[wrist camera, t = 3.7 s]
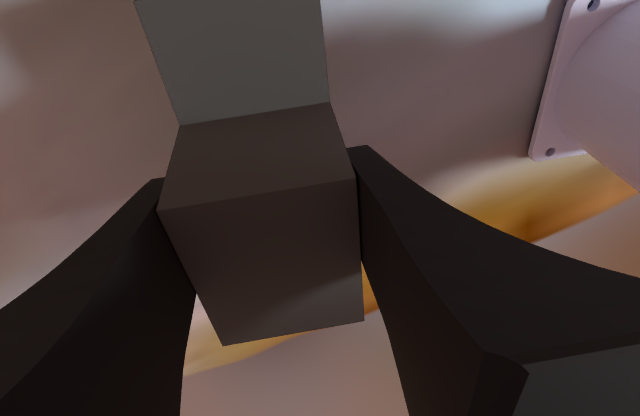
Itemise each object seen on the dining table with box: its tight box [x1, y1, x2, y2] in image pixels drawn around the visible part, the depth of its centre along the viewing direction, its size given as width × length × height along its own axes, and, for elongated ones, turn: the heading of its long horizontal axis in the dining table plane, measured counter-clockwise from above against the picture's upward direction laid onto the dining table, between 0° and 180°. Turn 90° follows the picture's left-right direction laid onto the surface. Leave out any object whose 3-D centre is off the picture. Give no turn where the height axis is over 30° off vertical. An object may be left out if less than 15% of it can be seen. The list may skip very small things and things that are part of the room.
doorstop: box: [133, 0, 364, 346], centre depth 11 cm, size 8×4×6 cm, turn 6°
